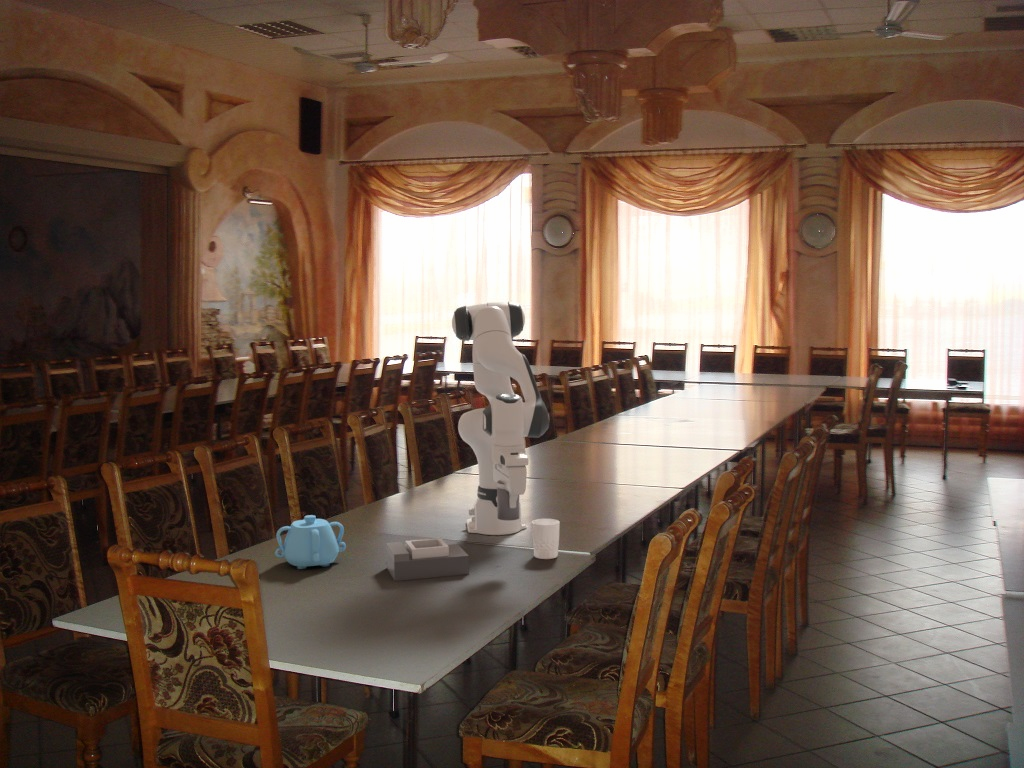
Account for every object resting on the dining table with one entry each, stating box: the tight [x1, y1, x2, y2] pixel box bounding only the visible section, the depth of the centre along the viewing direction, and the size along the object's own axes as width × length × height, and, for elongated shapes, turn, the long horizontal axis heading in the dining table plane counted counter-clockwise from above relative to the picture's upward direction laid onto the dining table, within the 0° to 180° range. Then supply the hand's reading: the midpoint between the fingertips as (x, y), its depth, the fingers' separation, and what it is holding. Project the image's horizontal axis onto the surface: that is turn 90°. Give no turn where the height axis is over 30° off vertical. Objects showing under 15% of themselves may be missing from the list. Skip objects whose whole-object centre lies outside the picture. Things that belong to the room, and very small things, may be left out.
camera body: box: [385, 537, 470, 582], centre depth 275 cm, size 13×20×8 cm, turn 106°
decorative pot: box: [274, 514, 347, 570], centre depth 283 cm, size 16×16×14 cm
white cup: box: [531, 518, 561, 560], centre depth 288 cm, size 8×8×10 cm
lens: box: [497, 480, 520, 520], centre depth 276 cm, size 6×6×10 cm
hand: (508, 504), depth 276 cm, fingers closed on lens, 6 cm apart
